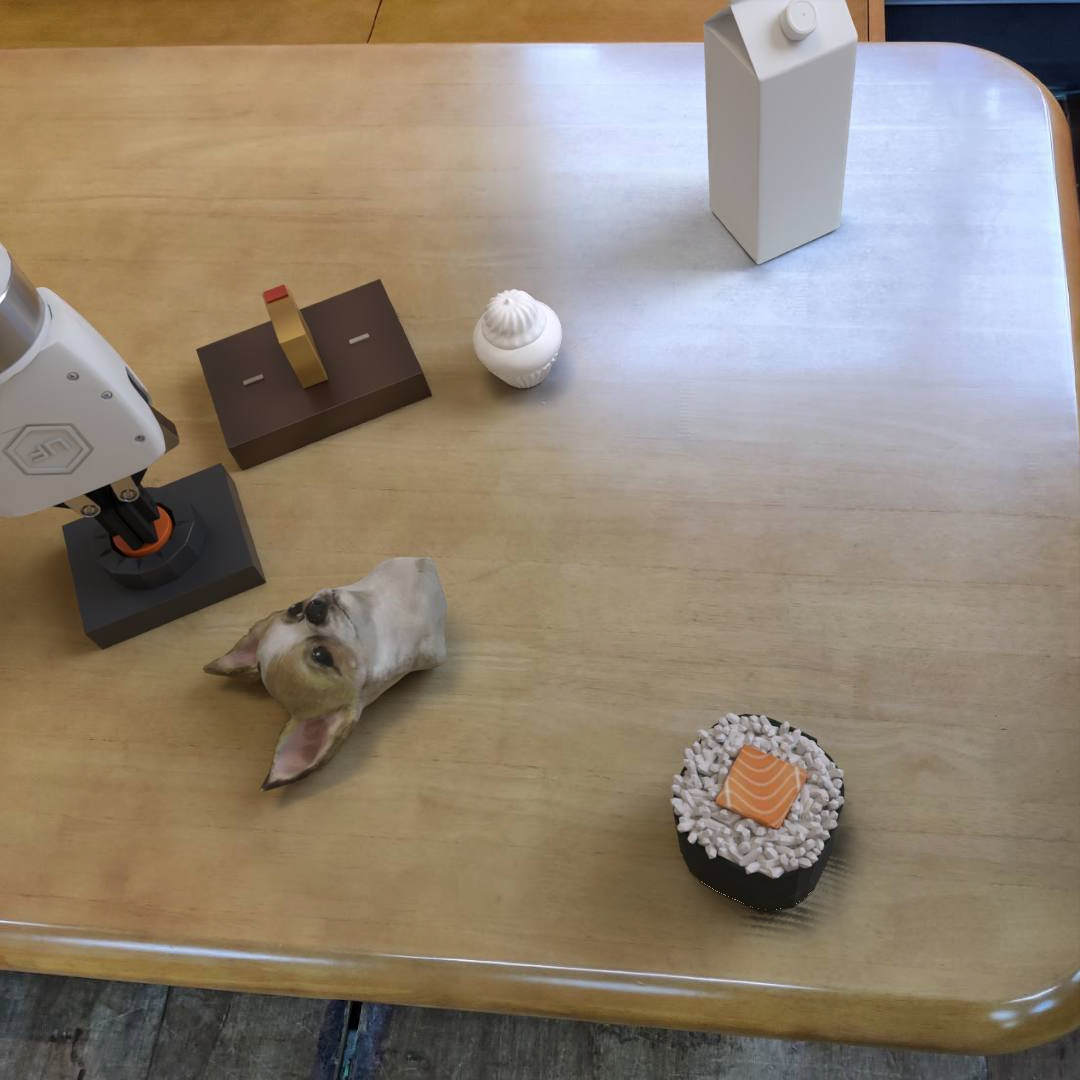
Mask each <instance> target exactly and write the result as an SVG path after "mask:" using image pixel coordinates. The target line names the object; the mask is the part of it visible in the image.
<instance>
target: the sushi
mask: <svg viewBox="0 0 1080 1080" xmlns="http://www.w3.org/2000/svg"><path fill="white" fill-rule="evenodd" d="M696 734H697V737H698V739H699V741H697V740H694V742H693V743H692V744H691V745H690V747H691V748H688V747H685V749H684V750H683V751H682V755H683V756H684V758H683V759H682V763H683V768H682V769H681V770H680V771H681V772H680V774H674V775H673V776H672V778H671V780H672V782H673V784H672V785H670V791H671V793H672V794H673V796H672V798H670V799H669V803H670V807H671V808H672V811H673V812H672V813H673V817H674V824H675V829H676V835H677V840H678V847H679V852H680V854H681V853H682V854H681V856H682V855H683V856H682V858H683V860H684V863H685V865H686V867H687V866H688V867H687V869H688V868H689V869H688V871H689V873H691V874H692V875H693V876H694V877H695V879H696V880H697V881H698V882H700V883H701V884H702V885H704V886H705V887H707V888H709V889H710V890H711V891H713V892H715V893H716V894H719V895H721V896H723V897H725V898H728V899H730V900H732V901H734V902H736V903H738V904H741V905H743V906H745V907H748V908H750V909H752V910H756V911H763V912H769V913H775V912H779V911H783V910H787V909H791V908H794V907H796V906H797V905H799V904H801V903H802V902H804V901H805V900H807V899H808V898H809V896H810V895H811V894H812V893H813V892H814V891H815V889H816V887H817V885H818V883H819V881H820V878H821V877H822V875H823V872H824V870H825V868H826V866H827V864H828V862H829V859H830V857H831V856H832V852H833V848H834V842H835V839H836V838H835V837H836V832H837V827H838V826H839V825H838V823H839V820H840V817H841V814H842V811H843V807H844V804H845V784H844V780H843V777H844V775H845V770H843V769H839V767H838V766H837V764H836V762H835V761H834V760H833V758H832V756H830V755H829V754H828V753H827V752H826V751H825V750H824V749H823V748H822V747H821V746H820V745H819V744H818V739H817V738H816V737H814V736H812V735H810V734H809V733H806V732H804V731H802V730H801V729H800V728H795V727H794V726H791V725H790V724H789V722H788V721H783V722H781V721H779V720H776V719H774V718H771V717H769V716H767V715H765V714H763V715H760V714H753V713H752V714H751V713H742V714H736V713H732V712H727V713H726V715H725V716H721V715H720V716H719V717H717V722H716V723H714V724H713V725H712V726H711V727H710V728H709V729H707V730H705V729H703V728H700V729H699V730H697V731H696ZM829 856H830V857H829ZM822 871H823V872H822ZM701 881H702V882H703V883H702V882H701ZM704 883H705V884H706V885H705V884H704ZM707 885H708V886H710V887H711V888H710V887H708V886H707ZM712 888H713V889H714V890H713V889H712ZM715 890H716V891H718V892H716V891H715ZM811 891H812V892H811ZM719 892H720V893H719ZM810 892H811V893H810ZM721 893H722V894H721ZM809 893H810V894H809ZM723 894H725V895H726V896H725V895H723ZM808 894H809V895H808ZM728 896H729V897H728ZM732 898H733V899H732ZM804 898H805V899H804ZM734 899H736V900H734ZM737 900H738V901H737ZM739 901H740V902H739ZM799 901H800V902H799ZM741 902H742V903H741ZM743 903H744V904H743ZM796 903H797V904H796ZM750 906H751V907H750ZM752 907H753V908H752ZM758 908H759V909H758ZM780 908H781V909H780ZM765 909H766V910H765ZM776 909H777V910H776Z"/></svg>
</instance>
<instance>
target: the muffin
mask: <svg viewBox="0 0 1080 1080" xmlns="http://www.w3.org/2000/svg"><path fill="white" fill-rule="evenodd" d="M484 309H485V312H483V314H482V315H481V316H480V317H479V319H478V320H477V323H476V324H475V327H474V329H473V333H472V346H473V350H474V352H475V354H476V357H477V359H478V360H479V361H480V362H481V363H482V365H484V367H486V368H487V371H489V372H490V373H492V374H493V375H494V376H496V377H497V378H499V379H500V380H502V381H503V382H505V383H506V384H508V385H509V386H512V387H514V388H518V389H529V388H533V387H534V386H538V384H542V382H544V380H545V379H546V378H547V376H548V375H549V373H550V371H551V370H552V367H553V365H554V363H555V361H556V360H557V358H558V356H559V352H560V347H561V345H562V340H563V329H562V325H561V322H560V319H559V317H558V315H557V313H555V311H554V310H553V309H552V308H551V307H550V306H548V305H547V304H546V303H544V302H542V301H539V300H537V299H535V298H534V297H533V296H531V295H530V294H528V293H527V291H524V290H517V289H515V288H513V289H511V290H507V289H504V290H503V291H502V292H501V293H500V292H498V293H496V294H495V297H490V299H489V303H488V304H487V305H485V307H484Z"/></svg>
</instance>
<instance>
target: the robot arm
mask: <svg viewBox="0 0 1080 1080" xmlns="http://www.w3.org/2000/svg"><path fill="white" fill-rule="evenodd" d="M180 442H181V440H180V437H179V433H178V430H177V426H176V424H175V423H174V422H173V421H172V420H170V419H169V418H167V416H165V415H164V414H163V413H161V412H160V411H159V410H157V409H156V408H155V407H153V399H152V396H151V394H150V393H149V391H148V389H147V388H146V386H145V385H144V383H143V382H142V380H141V379H140V377H139V376H138V375H137V374H136V373H135V372H134V370H133V369H132V368H131V367H130V366H129V364H128V363H127V362H126V361H125V360H124V358H123V357H122V356H121V355H120V354H119V352H117V350H116V349H114V347H113V346H112V345H111V344H110V343H109V342H108V341H107V340H106V338H105V337H104V336H102V335H101V333H100V332H99V331H98V330H97V329H96V328H95V327H94V326H93V325H92V324H91V323H90V322H89V321H88V320H87V319H86V318H84V317H83V316H82V315H81V313H79V312H78V311H77V310H76V309H75V308H73V307H72V306H71V305H70V304H69V303H67V301H65V300H64V299H63V298H61V296H59V295H57V293H55V292H54V291H53V290H51V289H50V288H48V287H45V286H39V287H36V286H35V285H34V284H33V283H32V281H31V280H30V279H29V277H28V276H27V275H26V274H25V272H24V271H23V270H22V268H21V267H20V265H19V264H18V263H17V262H16V261H15V259H14V258H13V256H12V255H11V254H10V253H9V251H8V250H7V249H6V247H5V246H4V244H2V242H1V241H0V518H5V519H13V518H14V519H15V518H20V517H21V518H22V517H26V516H30V515H33V514H35V513H38V512H41V511H44V510H47V509H49V508H52V507H53V508H61V509H67V510H68V509H69V510H73V512H75V513H76V514H77V515H79V516H81V518H83V517H86V518H91V517H94V518H95V519H96V520H97V521H98V522H99V523H100V525H101V526H102V527H103V528H104V529H105V530H106V531H107V532H108V533H109V534H110V535H111V536H112V537H115V536H118V535H119V536H120V537H121V538H122V539H123V540H124V541H125V542H126V543H127V545H128V546H129V547H130V548H131V549H132V550H133V551H135V550H137V549H140V548H142V545H144V542H145V543H149V544H152V543H155V542H157V541H159V539H158V535H157V532H156V528H155V524H154V521H155V520H158V519H160V513H159V510H158V507H157V505H156V503H155V501H154V500H153V498H152V497H151V496H150V495H149V493H148V492H147V491H146V490H145V488H144V487H145V486H143V485H142V484H141V483H142V482H143V479H144V477H145V475H146V473H147V471H148V469H149V467H152V466H153V465H154V464H156V463H157V462H158V461H159V460H161V458H162V457H163V456H164V455H165V454H166V453H168V452H170V451H171V450H173V449H174V448H176V447H177V446H178V445H180Z"/></svg>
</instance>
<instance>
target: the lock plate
mask: <svg viewBox="0 0 1080 1080" xmlns="http://www.w3.org/2000/svg"><path fill="white" fill-rule="evenodd" d="M299 310H300V312H301V314H302V316H303V318H304V320H305V322H306V324H307V326H308V328H309V330H310V333H311V335H312V338H313V341H314V343H315V346H316V349H317V351H318V354H319V357H320V359H321V362H322V364H323V367H324V370H325V372H326V375H327V378H328V380H326V381H323V382H320V383H318V384H315V385H312V386H310V387H307V388H305V389H304V388H303V387H302V385H301V383H300V381H299V380H298V378H297V376H296V374H295V372H294V370H293V368H292V366H291V365H290V363H289V361H288V359H287V357H286V355H285V353H284V351H283V349H282V348H281V346H280V344H279V341H278V338H277V336H276V333H275V330H274V327H273V324H272V322H271V320H268V321H265V322H263V323H261V324H258V325H255V326H253V327H250V328H248V329H245V330H242V331H239V332H237V333H235V334H232V335H229V336H226V337H224V338H221V339H219V340H216V341H214V342H211V343H208V344H206V345H203V346H200V347H198V348H196V349H195V351H196V354H197V357H198V361H199V364H200V367H201V369H202V372H203V376H204V379H205V383H206V384H207V388H208V391H209V392H208V393H209V395H210V398H211V401H212V404H213V407H214V410H215V413H216V416H217V420H218V422H219V426H220V429H221V431H222V435H223V439H224V441H225V444H226V447H227V450H228V452H229V453H230V454H231V456H232V457H233V459H234V460H235V463H237V465H238V467H239V468H240V469H241V471H242V472H244V471H246V470H249V469H251V468H254V467H257V466H259V465H261V464H264V463H267V462H269V461H271V460H274V459H277V458H279V457H281V456H284V455H287V454H289V453H292V452H295V451H297V450H299V449H303V448H304V447H307V446H309V445H312V444H314V443H317V442H319V441H321V440H324V439H327V438H329V437H332V436H335V435H337V434H339V433H342V432H344V431H347V430H350V429H353V428H355V427H358V426H359V425H362V424H364V423H367V422H369V421H372V420H375V419H377V418H380V417H383V416H385V415H387V414H389V413H393V412H395V411H397V410H400V409H402V408H405V407H407V406H409V405H412V404H415V403H418V402H421V401H422V400H425V399H428V398H430V397H432V392H431V388H430V387H429V383H428V381H427V379H426V376H425V373H424V371H423V369H422V367H421V364H420V362H419V360H418V358H417V356H416V353H415V351H414V349H413V346H412V344H411V343H410V341H409V338H408V336H407V333H406V332H405V329H404V328H403V325H402V323H401V321H400V319H399V317H398V314H397V312H396V310H395V307H394V305H393V304H392V301H391V299H390V297H389V295H388V292H387V290H386V288H385V286H384V283H383V282H382V280H381V279H380V278H378V279H376V280H373V281H370V282H368V283H365V284H362V285H360V286H357V287H355V288H352V289H349V290H347V291H344V292H342V293H339V294H337V295H334V296H331V297H329V298H326V299H323V300H320V301H318V302H315V303H313V304H310V305H308V306H305V307H301V308H299Z"/></svg>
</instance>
